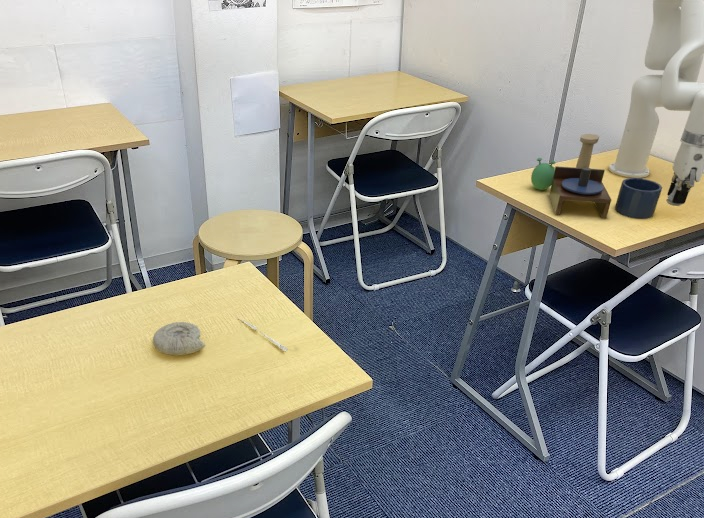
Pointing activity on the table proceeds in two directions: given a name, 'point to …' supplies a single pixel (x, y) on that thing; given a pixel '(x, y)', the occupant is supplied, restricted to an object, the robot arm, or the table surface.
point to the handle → (586, 149)
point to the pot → (638, 198)
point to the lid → (582, 183)
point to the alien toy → (543, 175)
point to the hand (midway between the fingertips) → (675, 198)
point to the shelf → (561, 193)
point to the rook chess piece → (674, 193)
